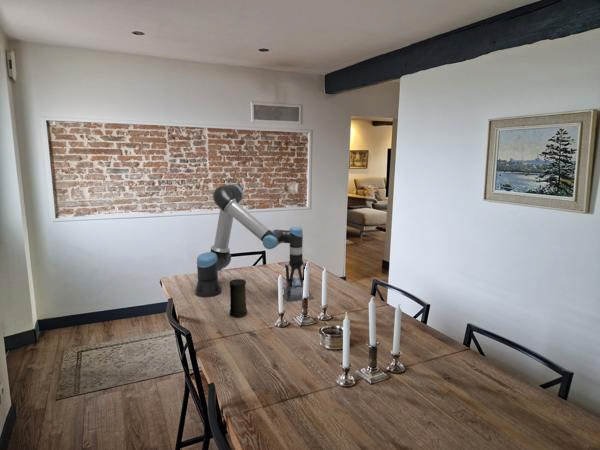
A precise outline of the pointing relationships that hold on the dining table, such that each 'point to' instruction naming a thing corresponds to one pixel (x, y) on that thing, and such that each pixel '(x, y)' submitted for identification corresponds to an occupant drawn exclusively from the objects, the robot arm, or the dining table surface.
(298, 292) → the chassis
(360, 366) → the dining table surface
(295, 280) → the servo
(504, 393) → the dining table surface
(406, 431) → the dining table surface
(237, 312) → the container
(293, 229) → the robot arm
